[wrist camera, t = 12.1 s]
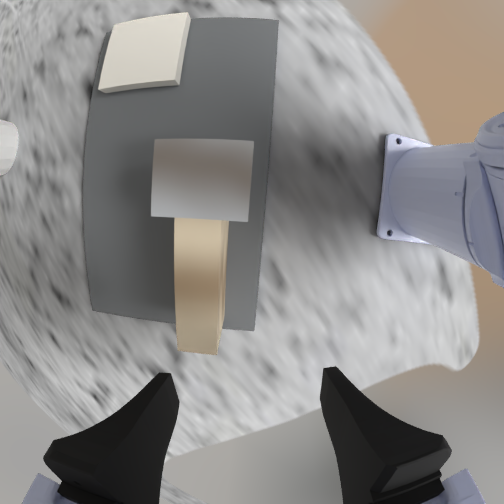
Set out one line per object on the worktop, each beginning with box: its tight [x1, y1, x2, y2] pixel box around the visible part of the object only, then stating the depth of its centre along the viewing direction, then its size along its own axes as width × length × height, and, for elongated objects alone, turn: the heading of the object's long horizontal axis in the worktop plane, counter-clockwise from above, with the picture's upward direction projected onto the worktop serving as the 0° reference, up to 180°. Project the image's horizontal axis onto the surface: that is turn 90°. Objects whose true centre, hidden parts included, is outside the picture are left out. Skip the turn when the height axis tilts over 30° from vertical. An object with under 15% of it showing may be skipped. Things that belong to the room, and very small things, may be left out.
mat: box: [83, 18, 279, 331], centre depth 18 cm, size 14×24×1 cm, turn 176°
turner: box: [151, 139, 254, 355], centre depth 16 cm, size 12×5×5 cm, turn 176°
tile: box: [98, 12, 191, 93], centre depth 15 cm, size 6×1×6 cm
